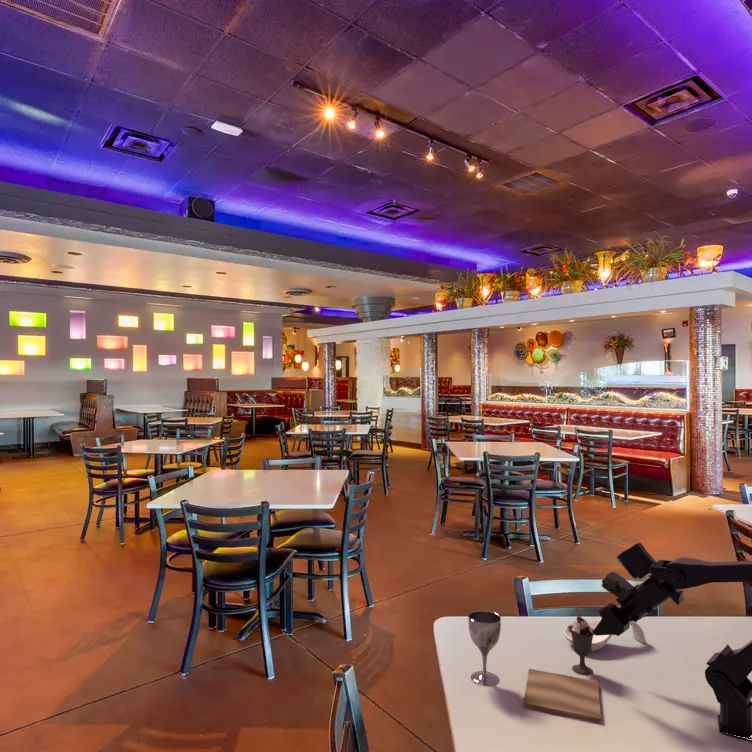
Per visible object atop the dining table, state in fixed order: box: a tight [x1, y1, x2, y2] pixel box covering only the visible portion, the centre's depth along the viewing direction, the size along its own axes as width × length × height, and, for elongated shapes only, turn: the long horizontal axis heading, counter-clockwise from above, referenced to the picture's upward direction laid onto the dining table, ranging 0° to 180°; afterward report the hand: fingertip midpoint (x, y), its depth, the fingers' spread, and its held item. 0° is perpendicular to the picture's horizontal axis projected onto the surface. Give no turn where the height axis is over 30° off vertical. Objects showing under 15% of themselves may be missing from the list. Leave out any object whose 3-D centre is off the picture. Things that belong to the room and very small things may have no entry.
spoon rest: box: [563, 618, 647, 652], centre depth 149 cm, size 24×12×7 cm, turn 104°
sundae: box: [567, 607, 594, 676], centre depth 134 cm, size 7×7×15 cm
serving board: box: [522, 668, 602, 724], centre depth 122 cm, size 16×16×1 cm
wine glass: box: [467, 609, 502, 687], centre depth 130 cm, size 8×8×15 cm
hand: (602, 627), depth 130 cm, fingers open, 9 cm apart
